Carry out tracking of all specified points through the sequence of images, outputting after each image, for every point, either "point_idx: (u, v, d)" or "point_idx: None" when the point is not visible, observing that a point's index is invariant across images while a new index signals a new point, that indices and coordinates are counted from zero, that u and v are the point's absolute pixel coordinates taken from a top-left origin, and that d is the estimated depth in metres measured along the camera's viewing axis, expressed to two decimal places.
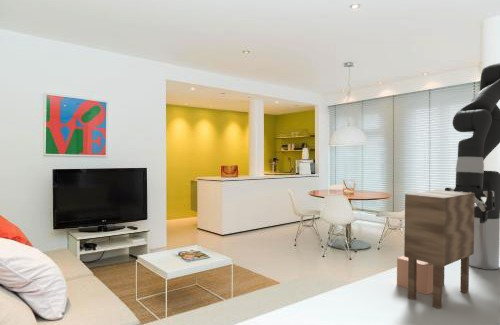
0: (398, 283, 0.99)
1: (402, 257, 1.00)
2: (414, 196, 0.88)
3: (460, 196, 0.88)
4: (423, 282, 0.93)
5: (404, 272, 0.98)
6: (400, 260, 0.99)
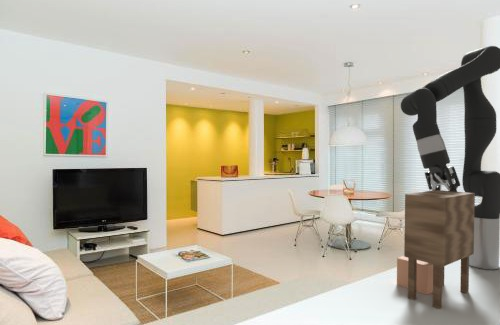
0: (398, 283, 0.99)
1: (402, 257, 1.00)
2: (414, 196, 0.88)
3: (460, 196, 0.88)
4: (423, 282, 0.93)
5: (404, 272, 0.98)
6: (400, 260, 0.99)
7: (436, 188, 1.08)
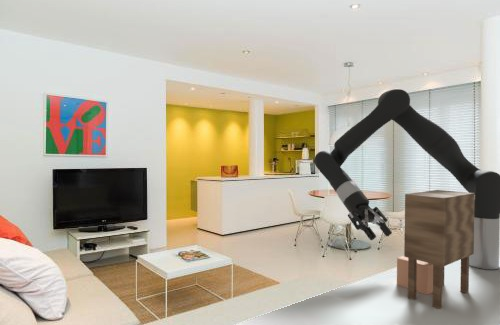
0: (398, 283, 0.99)
1: (402, 257, 1.00)
2: (414, 196, 0.88)
3: (460, 196, 0.88)
4: (423, 282, 0.93)
5: (404, 272, 0.98)
6: (400, 260, 0.99)
7: (380, 223, 1.11)
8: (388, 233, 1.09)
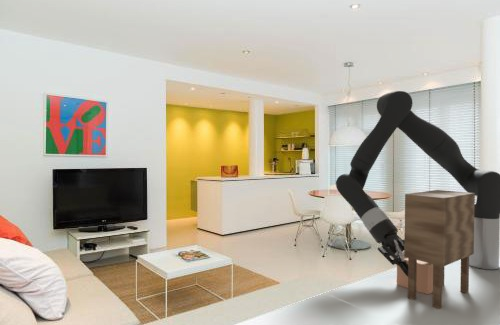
0: (398, 283, 0.99)
1: None
2: (414, 196, 0.88)
3: (460, 196, 0.88)
4: (423, 282, 0.93)
5: None
6: None
7: None
8: None
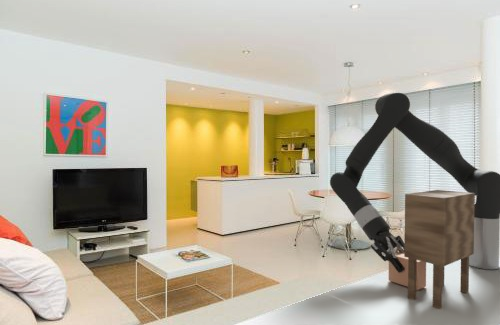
0: (390, 279, 1.01)
1: (394, 253, 1.02)
2: (414, 196, 0.88)
3: (460, 196, 0.88)
4: None
5: None
6: None
7: None
8: None
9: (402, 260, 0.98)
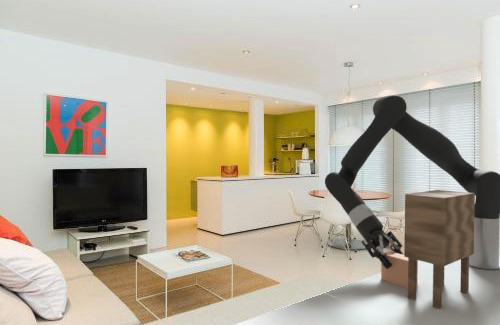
0: (382, 278, 1.04)
1: (386, 253, 1.04)
2: (414, 196, 0.88)
3: (460, 196, 0.88)
4: (405, 276, 0.98)
5: (388, 268, 1.02)
6: None
7: (394, 249, 1.07)
8: None
9: (394, 259, 1.00)
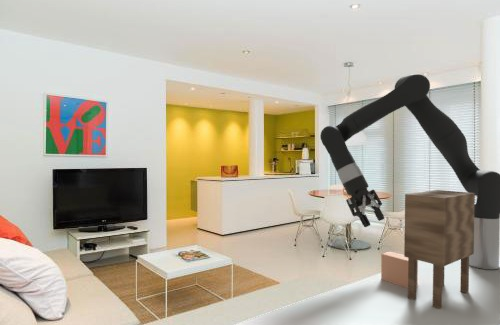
0: (382, 278, 1.04)
1: (386, 253, 1.04)
2: (414, 196, 0.88)
3: (460, 196, 0.88)
4: (405, 276, 0.98)
5: (388, 268, 1.02)
6: (384, 256, 1.03)
7: (374, 207, 1.15)
8: (381, 218, 1.13)
9: (394, 259, 1.00)
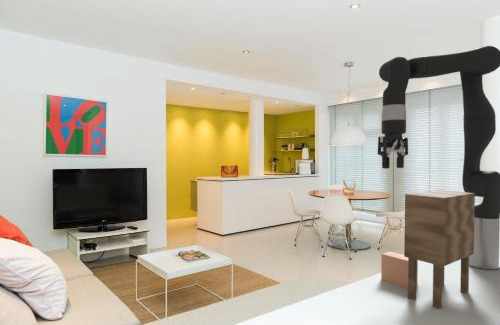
0: (382, 278, 1.04)
1: (386, 253, 1.04)
2: (414, 196, 0.88)
3: (460, 196, 0.88)
4: (405, 276, 0.98)
5: (388, 268, 1.02)
6: (384, 256, 1.03)
7: (399, 154, 1.14)
8: (400, 166, 1.14)
9: (394, 259, 1.00)
